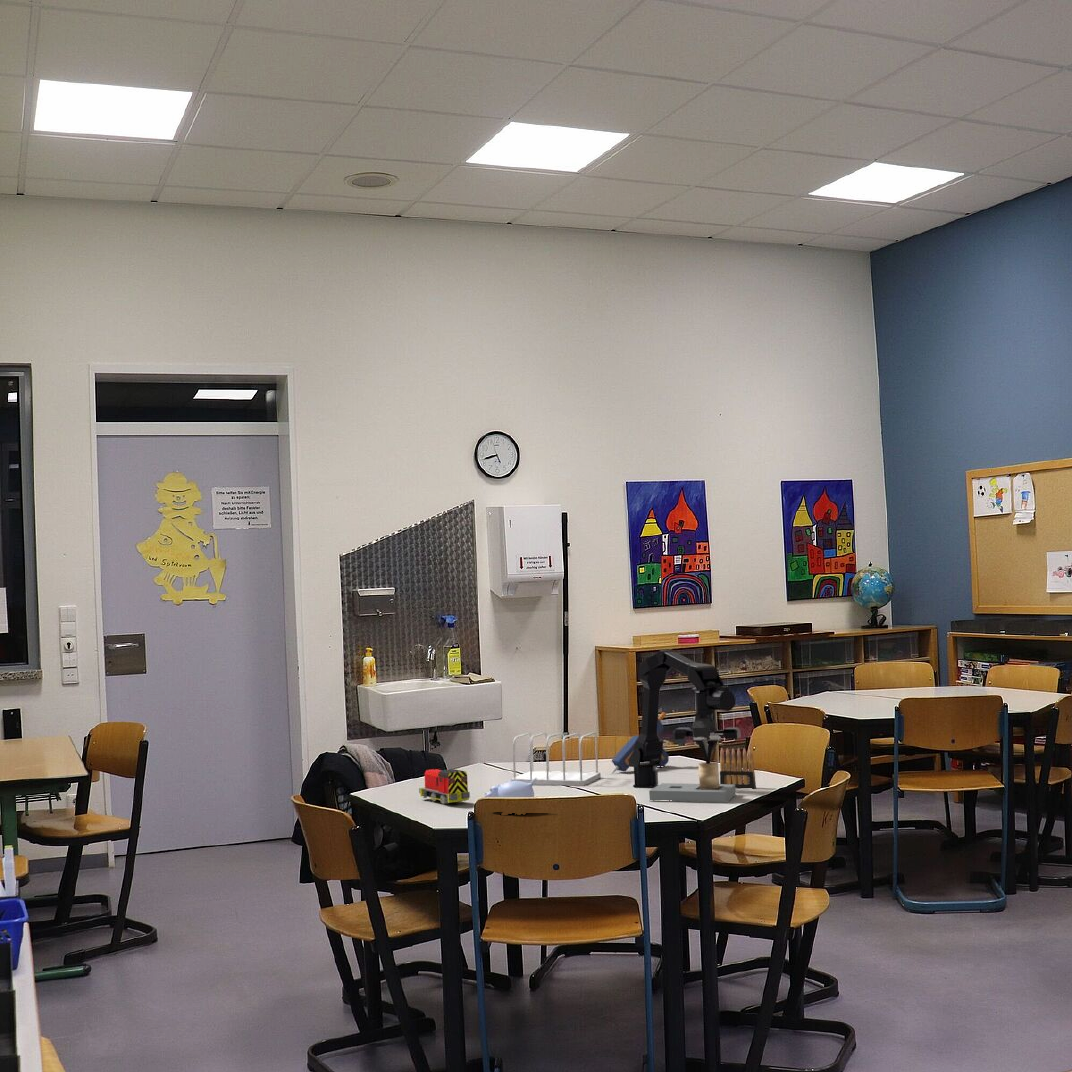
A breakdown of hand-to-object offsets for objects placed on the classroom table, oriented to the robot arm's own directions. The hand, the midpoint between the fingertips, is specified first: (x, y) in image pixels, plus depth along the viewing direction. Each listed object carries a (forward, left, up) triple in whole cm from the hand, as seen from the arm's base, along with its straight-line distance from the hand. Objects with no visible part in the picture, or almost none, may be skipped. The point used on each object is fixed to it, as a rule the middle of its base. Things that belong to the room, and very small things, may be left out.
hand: (708, 763), depth 338 cm
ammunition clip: (+4, +20, -10) cm, 23 cm away
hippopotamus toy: (-50, -30, -10) cm, 59 cm away
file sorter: (-57, +27, -10) cm, 64 cm away
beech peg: (0, 0, -10) cm, 10 cm away
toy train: (-77, -16, -10) cm, 79 cm away
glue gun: (-37, +54, -10) cm, 66 cm away
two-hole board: (-5, 0, -10) cm, 11 cm away
